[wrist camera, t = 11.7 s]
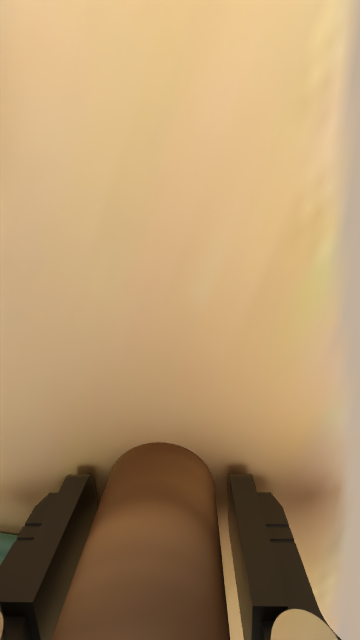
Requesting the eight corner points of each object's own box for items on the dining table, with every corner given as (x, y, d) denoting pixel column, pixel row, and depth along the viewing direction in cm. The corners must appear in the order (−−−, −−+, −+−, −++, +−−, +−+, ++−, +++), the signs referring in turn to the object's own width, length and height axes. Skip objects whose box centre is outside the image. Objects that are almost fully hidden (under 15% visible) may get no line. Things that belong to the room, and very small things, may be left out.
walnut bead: (86, 489, 10) (-12, 719, 5) (156, 421, 9) (120, 615, 4) (164, 548, 10) (143, 808, 6) (236, 488, 10) (283, 727, 5)
